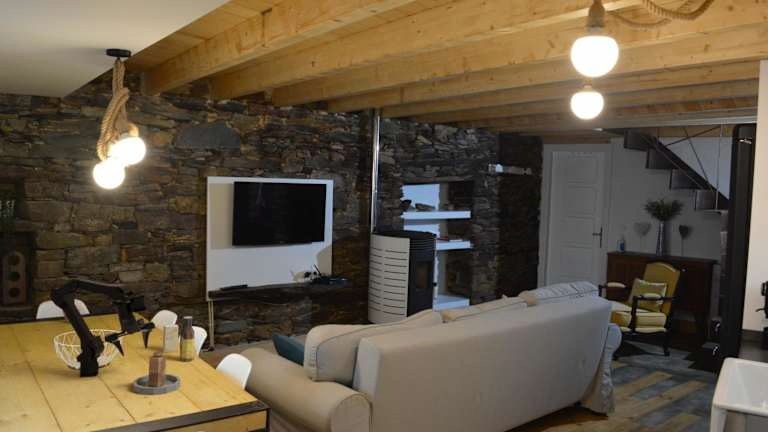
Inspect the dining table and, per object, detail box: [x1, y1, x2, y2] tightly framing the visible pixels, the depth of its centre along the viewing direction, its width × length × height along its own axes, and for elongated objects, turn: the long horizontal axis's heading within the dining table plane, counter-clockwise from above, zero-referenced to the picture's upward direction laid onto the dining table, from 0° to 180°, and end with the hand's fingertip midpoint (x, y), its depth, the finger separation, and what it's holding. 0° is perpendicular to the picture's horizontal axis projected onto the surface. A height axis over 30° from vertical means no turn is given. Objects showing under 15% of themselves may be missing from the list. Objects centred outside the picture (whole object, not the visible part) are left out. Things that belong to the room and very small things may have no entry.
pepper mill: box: [148, 351, 167, 388], centre depth 233 cm, size 4×4×13 cm
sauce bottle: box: [179, 315, 195, 362], centre depth 269 cm, size 6×6×20 cm
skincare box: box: [162, 323, 179, 353], centre depth 282 cm, size 6×4×12 cm
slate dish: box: [132, 373, 181, 396], centre depth 234 cm, size 17×17×2 cm
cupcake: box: [61, 304, 81, 324], centre depth 326 cm, size 9×9×10 cm
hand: (134, 352), depth 242 cm, fingers open, 9 cm apart
